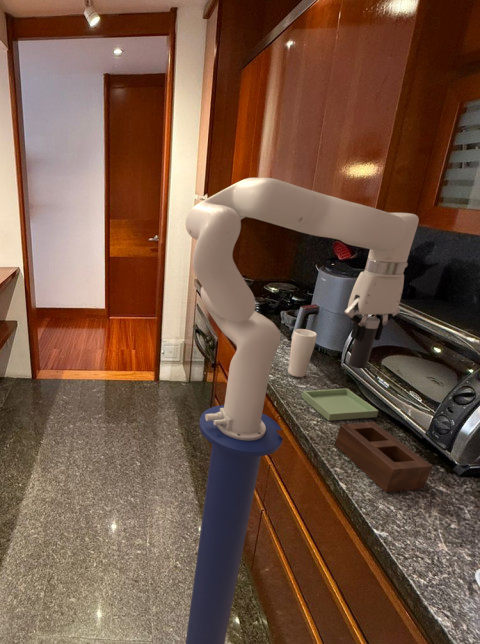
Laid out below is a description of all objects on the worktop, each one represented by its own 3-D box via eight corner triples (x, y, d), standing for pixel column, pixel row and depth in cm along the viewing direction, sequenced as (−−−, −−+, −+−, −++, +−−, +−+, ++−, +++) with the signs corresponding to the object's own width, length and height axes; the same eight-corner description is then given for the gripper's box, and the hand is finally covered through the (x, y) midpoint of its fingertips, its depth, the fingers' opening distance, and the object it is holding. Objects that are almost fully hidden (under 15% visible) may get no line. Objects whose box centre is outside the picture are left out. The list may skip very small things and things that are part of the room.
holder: (385, 492, 81) (393, 469, 78) (334, 444, 95) (340, 424, 93) (423, 488, 81) (432, 466, 79) (367, 442, 96) (374, 421, 94)
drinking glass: (311, 378, 126) (321, 336, 120) (290, 379, 126) (300, 336, 120) (301, 369, 132) (310, 328, 126) (281, 369, 132) (289, 328, 126)
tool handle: (355, 369, 99) (368, 321, 94) (344, 362, 103) (357, 316, 98) (370, 368, 99) (384, 320, 95) (358, 361, 103) (371, 315, 98)
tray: (328, 420, 104) (330, 414, 103) (301, 397, 115) (302, 391, 115) (376, 417, 106) (378, 410, 105) (345, 394, 117) (346, 388, 116)
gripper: (403, 263, 96) (383, 331, 103) (340, 265, 94) (324, 334, 101) (431, 270, 89) (407, 342, 96) (363, 272, 87) (344, 346, 94)
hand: (364, 337), depth 98 cm, fingers closed on tool handle, 4 cm apart
